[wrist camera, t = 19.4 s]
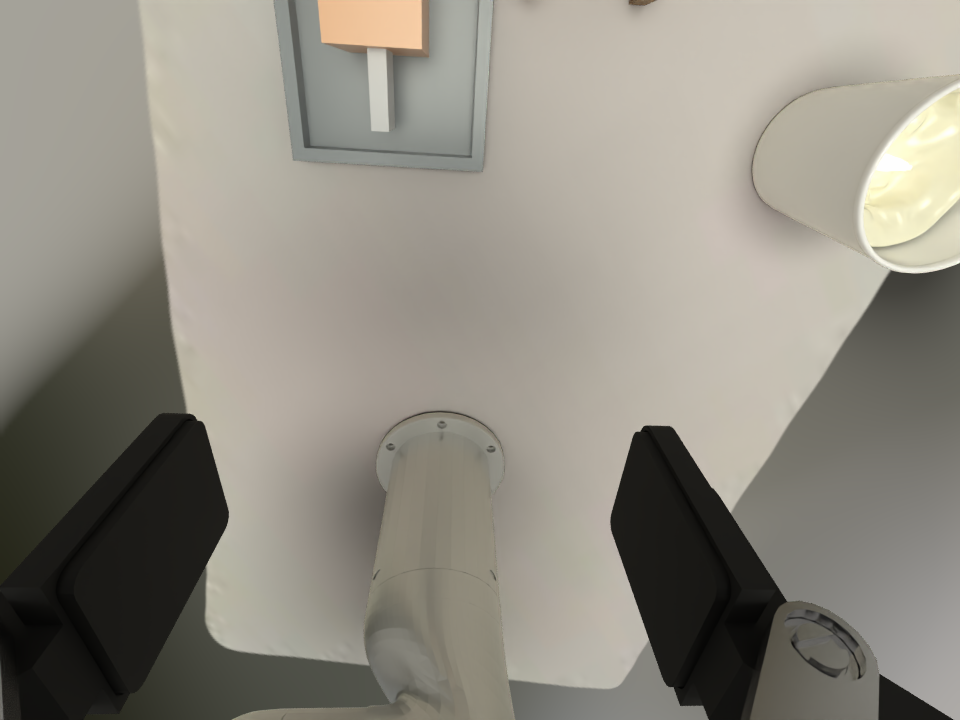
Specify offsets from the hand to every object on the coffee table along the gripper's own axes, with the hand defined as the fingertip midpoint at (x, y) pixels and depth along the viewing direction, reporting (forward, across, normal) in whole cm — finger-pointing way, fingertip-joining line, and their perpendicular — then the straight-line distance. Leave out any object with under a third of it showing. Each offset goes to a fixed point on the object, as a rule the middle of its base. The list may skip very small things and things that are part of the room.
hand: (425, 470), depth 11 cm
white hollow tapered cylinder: (+28, -26, -5) cm, 39 cm away
